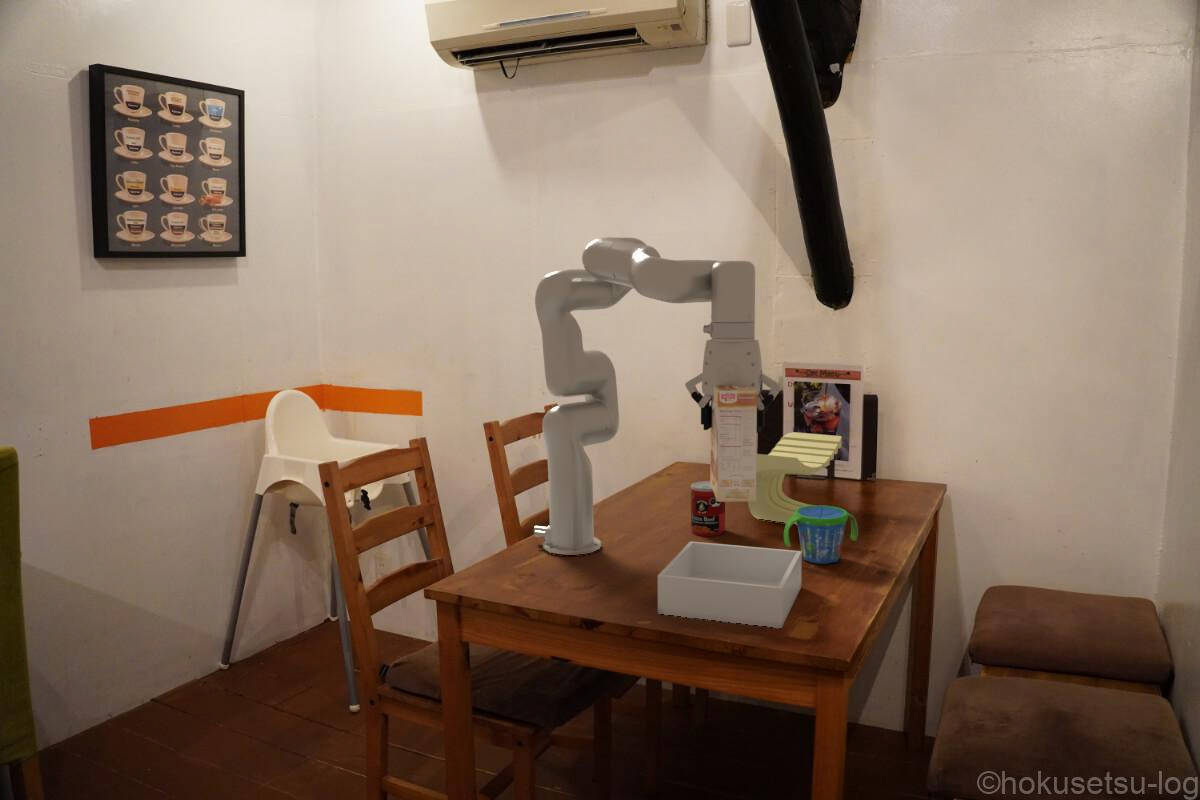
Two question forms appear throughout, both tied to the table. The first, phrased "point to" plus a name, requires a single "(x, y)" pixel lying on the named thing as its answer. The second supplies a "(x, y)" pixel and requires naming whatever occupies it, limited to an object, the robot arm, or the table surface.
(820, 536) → the snack cup
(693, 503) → the canned food
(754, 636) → the table surface
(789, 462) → the slatted curved stool
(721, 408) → the coffeecake box
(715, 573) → the bin
